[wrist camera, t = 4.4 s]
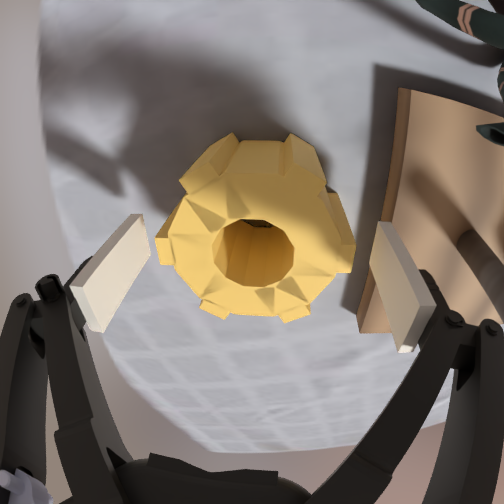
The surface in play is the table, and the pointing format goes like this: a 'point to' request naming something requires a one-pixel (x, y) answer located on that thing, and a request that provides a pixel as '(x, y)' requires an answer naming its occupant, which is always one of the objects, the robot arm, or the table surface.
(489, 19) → the teapot
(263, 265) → the ochre gear
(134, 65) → the table surface
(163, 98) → the table surface
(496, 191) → the gear board
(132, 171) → the table surface
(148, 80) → the table surface
